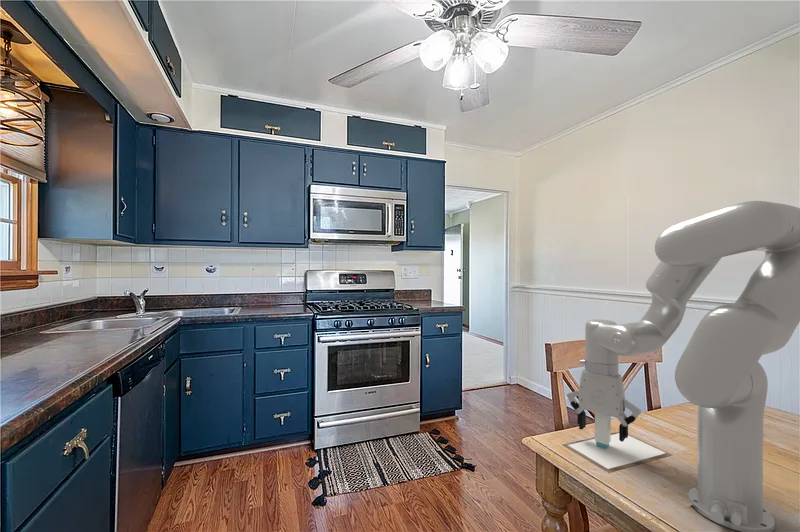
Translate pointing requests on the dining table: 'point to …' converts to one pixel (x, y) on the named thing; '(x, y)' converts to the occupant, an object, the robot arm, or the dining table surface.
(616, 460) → the paper
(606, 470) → the board
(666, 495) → the dining table surface
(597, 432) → the grey square bar
